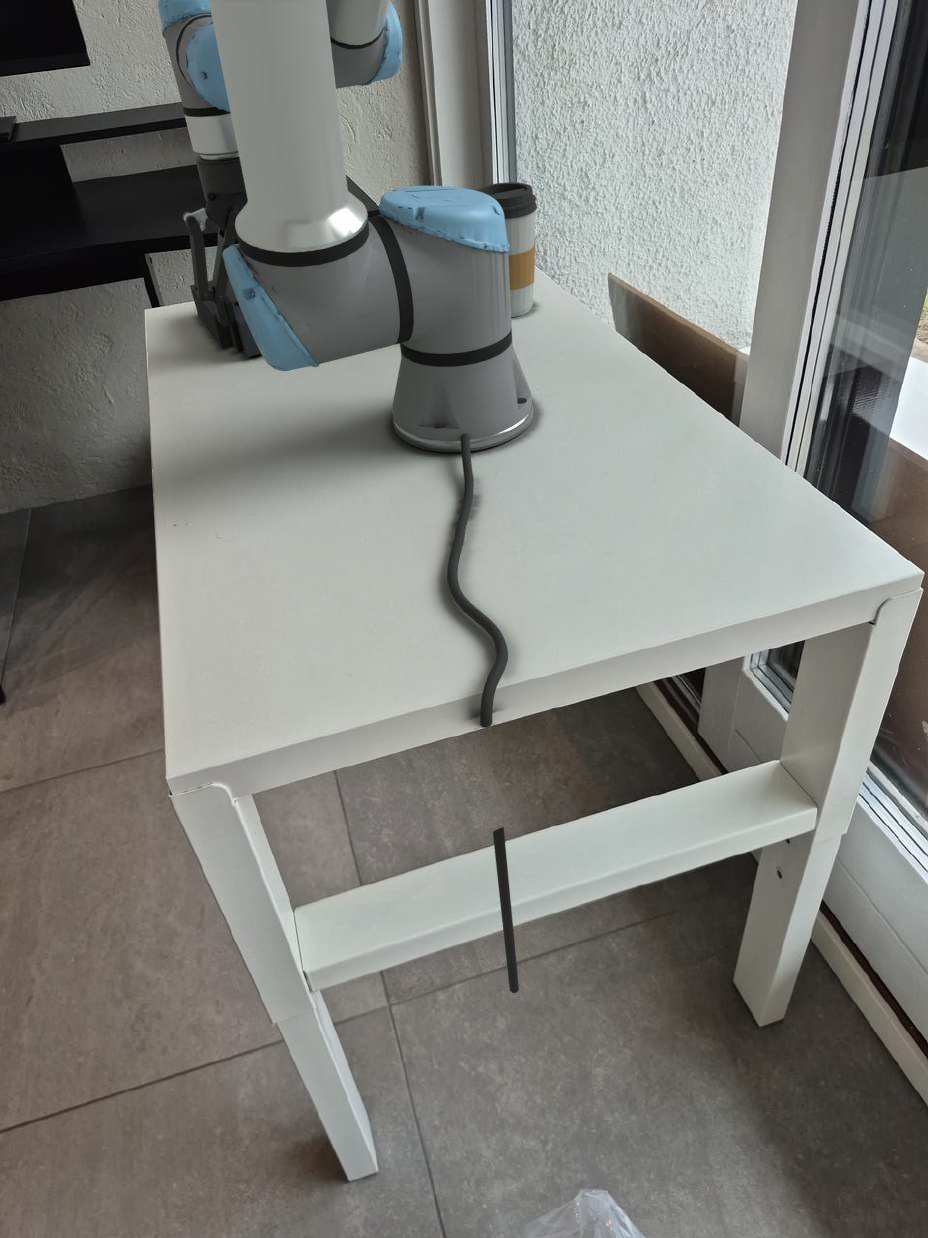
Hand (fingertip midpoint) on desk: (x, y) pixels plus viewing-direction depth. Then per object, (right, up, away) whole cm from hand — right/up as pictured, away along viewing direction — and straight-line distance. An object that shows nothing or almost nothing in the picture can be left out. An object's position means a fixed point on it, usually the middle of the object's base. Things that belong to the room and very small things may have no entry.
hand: (270, 339), depth 119 cm
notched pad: (-4, +5, +8) cm, 10 cm away
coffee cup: (+32, +5, +3) cm, 32 cm away
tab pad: (-1, +1, +1) cm, 1 cm away
